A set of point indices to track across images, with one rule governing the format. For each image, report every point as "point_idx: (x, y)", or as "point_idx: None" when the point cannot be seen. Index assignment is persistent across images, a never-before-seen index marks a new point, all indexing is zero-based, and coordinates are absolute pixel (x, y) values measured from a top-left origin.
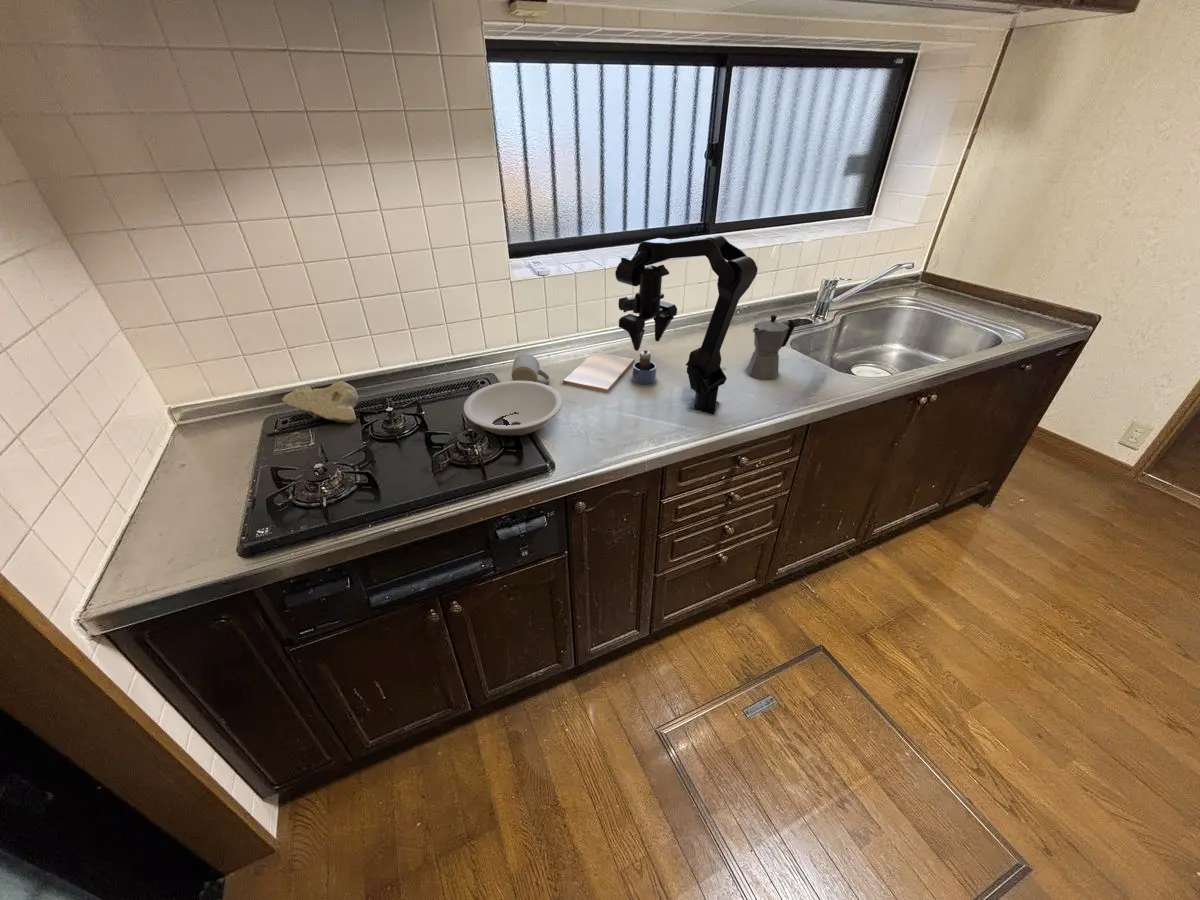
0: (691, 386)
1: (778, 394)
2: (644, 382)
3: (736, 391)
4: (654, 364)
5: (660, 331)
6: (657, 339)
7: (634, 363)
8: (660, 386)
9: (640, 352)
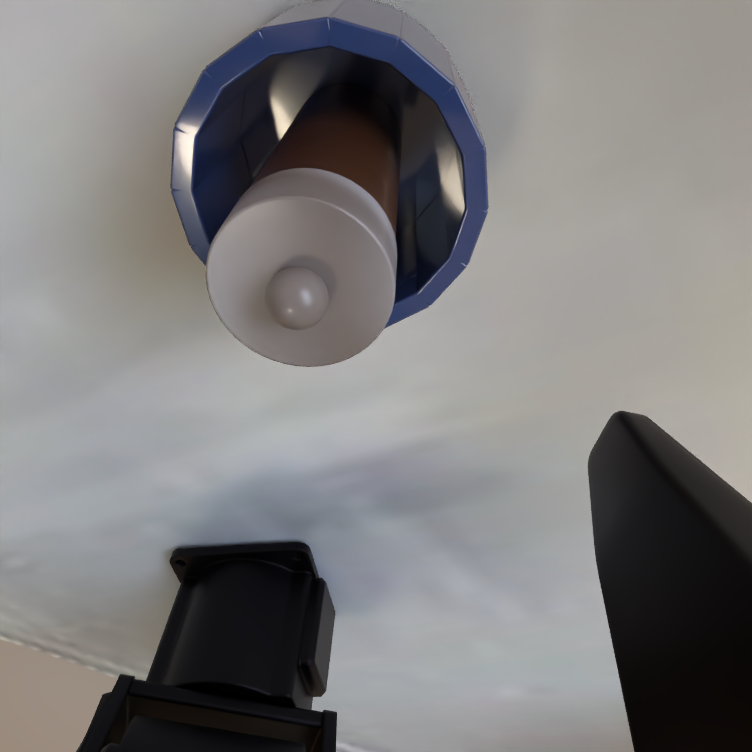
0: (107, 696)
1: (570, 748)
2: None
3: (520, 648)
4: (423, 289)
5: (646, 682)
6: (599, 476)
7: (307, 31)
8: None
9: (242, 218)
